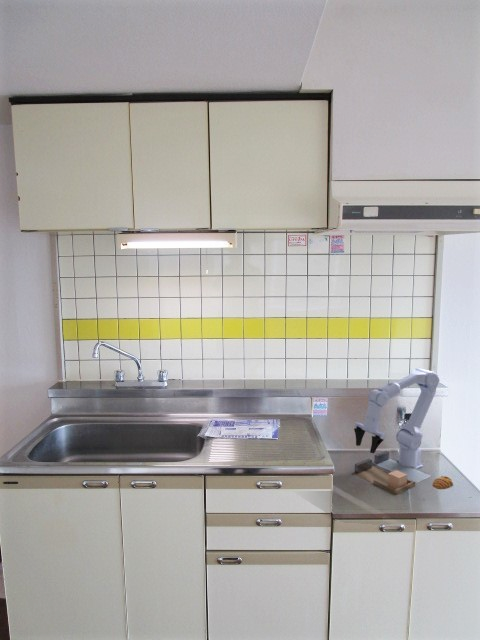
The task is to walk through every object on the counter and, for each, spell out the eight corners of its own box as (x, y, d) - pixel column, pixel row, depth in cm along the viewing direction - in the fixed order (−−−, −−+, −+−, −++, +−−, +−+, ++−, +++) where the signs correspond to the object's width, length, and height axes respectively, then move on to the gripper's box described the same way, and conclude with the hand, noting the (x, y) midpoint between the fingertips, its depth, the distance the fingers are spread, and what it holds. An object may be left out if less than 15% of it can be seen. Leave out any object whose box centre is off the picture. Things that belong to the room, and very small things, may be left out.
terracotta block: (395, 481, 174) (396, 469, 173) (406, 486, 170) (407, 474, 169) (388, 485, 171) (388, 473, 171) (398, 490, 167) (399, 478, 166)
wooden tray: (370, 468, 189) (370, 457, 188) (415, 489, 171) (415, 477, 170) (351, 475, 182) (352, 464, 182) (396, 498, 164) (396, 485, 163)
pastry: (444, 495, 166) (444, 486, 166) (427, 489, 171) (427, 480, 171) (455, 487, 172) (455, 478, 172) (438, 481, 177) (438, 472, 177)
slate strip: (386, 460, 197) (387, 449, 196) (431, 479, 178) (431, 467, 178) (372, 466, 191) (372, 455, 190) (416, 486, 173) (417, 474, 172)
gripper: (353, 411, 185) (345, 442, 186) (381, 423, 174) (372, 456, 174) (363, 412, 190) (356, 442, 190) (391, 424, 178) (383, 456, 178)
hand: (364, 449), depth 182 cm, fingers open, 7 cm apart
